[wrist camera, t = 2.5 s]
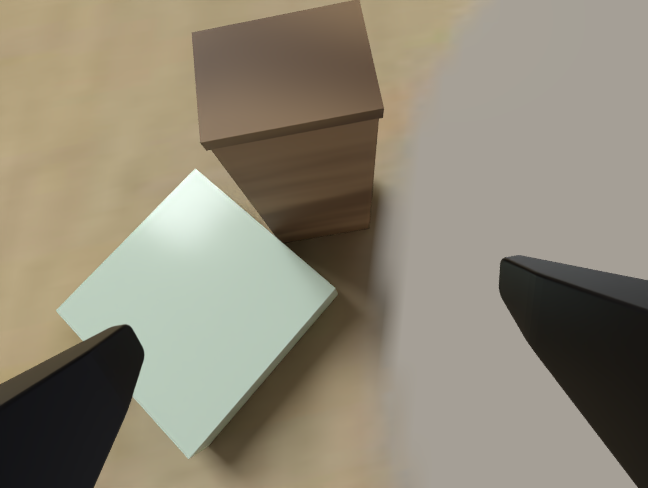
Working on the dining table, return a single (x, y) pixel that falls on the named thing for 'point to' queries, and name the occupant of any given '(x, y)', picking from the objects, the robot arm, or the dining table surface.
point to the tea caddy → (294, 116)
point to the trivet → (201, 308)
